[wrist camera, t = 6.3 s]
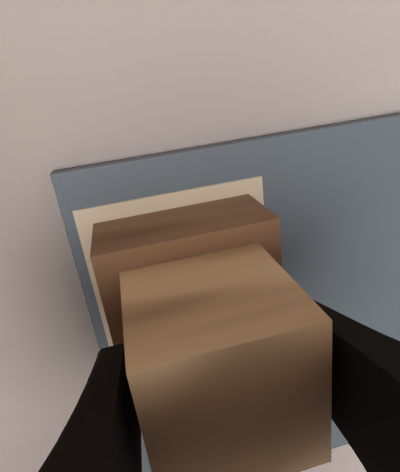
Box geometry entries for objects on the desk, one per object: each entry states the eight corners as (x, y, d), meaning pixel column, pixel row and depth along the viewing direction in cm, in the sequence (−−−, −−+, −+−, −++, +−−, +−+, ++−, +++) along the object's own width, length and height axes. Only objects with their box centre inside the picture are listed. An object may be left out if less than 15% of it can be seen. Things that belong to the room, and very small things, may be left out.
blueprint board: (390, 420, 23) (398, 429, 23) (143, 495, 21) (145, 509, 20) (420, 109, 16) (433, 110, 15) (52, 171, 14) (49, 175, 13)
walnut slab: (258, 320, 17) (286, 364, 15) (125, 353, 16) (129, 406, 14) (248, 193, 15) (279, 218, 12) (93, 223, 14) (89, 257, 11)
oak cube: (266, 352, 14) (331, 461, 10) (146, 384, 13) (163, 515, 9) (258, 242, 12) (332, 320, 8) (119, 272, 12) (126, 373, 8)
